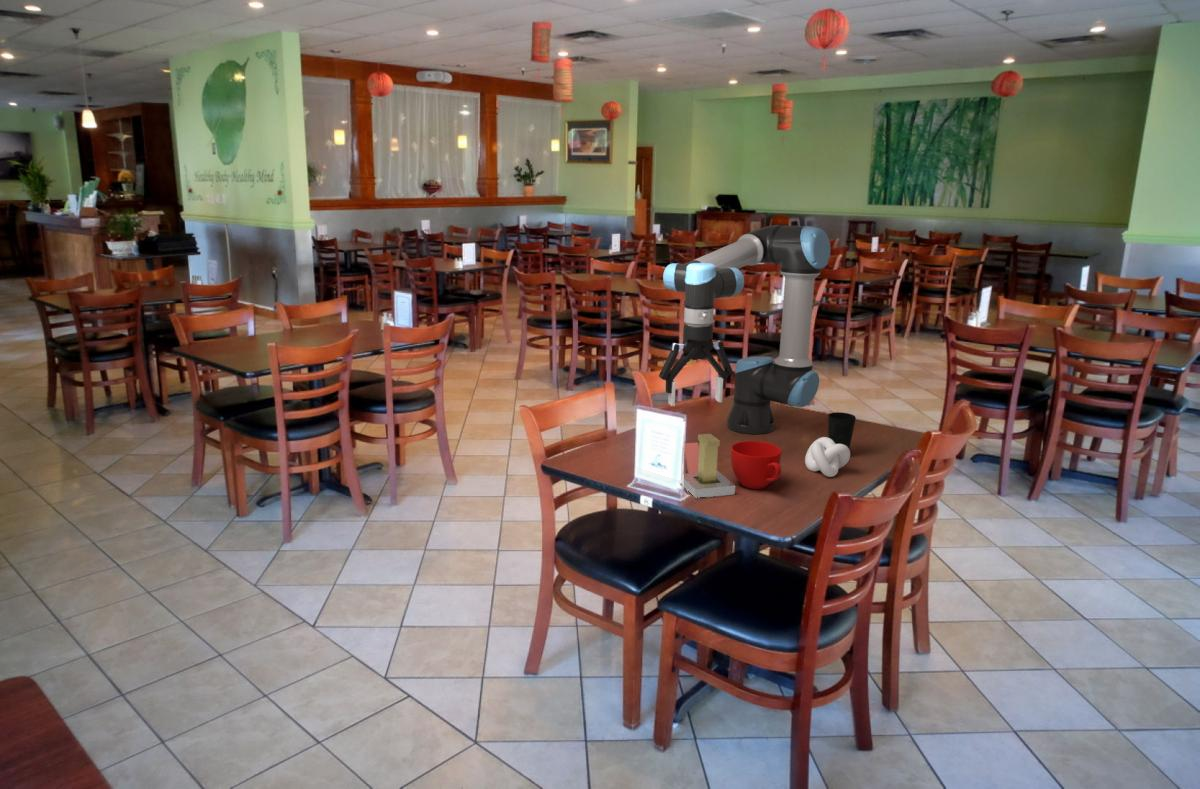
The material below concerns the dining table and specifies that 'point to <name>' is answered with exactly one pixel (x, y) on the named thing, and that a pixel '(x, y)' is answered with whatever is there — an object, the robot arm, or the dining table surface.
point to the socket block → (708, 486)
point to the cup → (841, 427)
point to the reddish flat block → (692, 457)
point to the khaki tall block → (707, 458)
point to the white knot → (826, 456)
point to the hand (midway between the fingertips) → (695, 403)
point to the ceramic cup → (756, 463)
